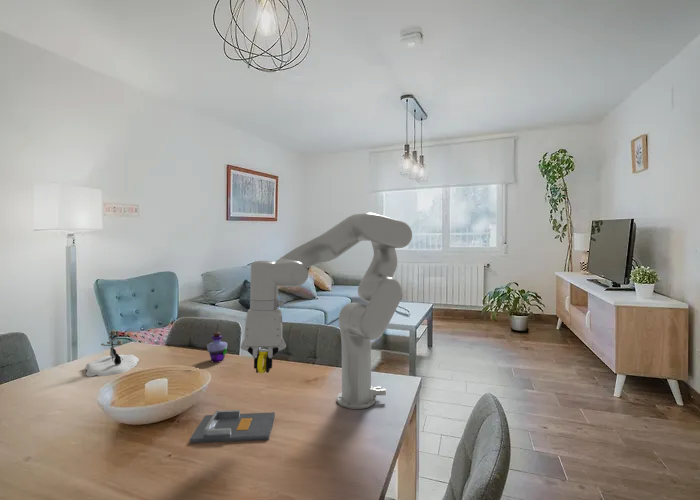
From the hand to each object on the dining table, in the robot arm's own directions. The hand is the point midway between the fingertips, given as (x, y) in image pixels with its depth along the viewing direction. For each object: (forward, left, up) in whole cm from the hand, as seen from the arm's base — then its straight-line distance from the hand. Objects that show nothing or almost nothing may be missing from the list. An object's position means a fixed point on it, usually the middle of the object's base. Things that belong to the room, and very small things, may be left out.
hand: (263, 370), depth 98 cm
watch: (0, 0, -1) cm, 1 cm away
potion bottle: (+29, -56, -16) cm, 65 cm away
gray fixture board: (+8, +1, -16) cm, 18 cm away
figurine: (+70, -51, -16) cm, 88 cm away
